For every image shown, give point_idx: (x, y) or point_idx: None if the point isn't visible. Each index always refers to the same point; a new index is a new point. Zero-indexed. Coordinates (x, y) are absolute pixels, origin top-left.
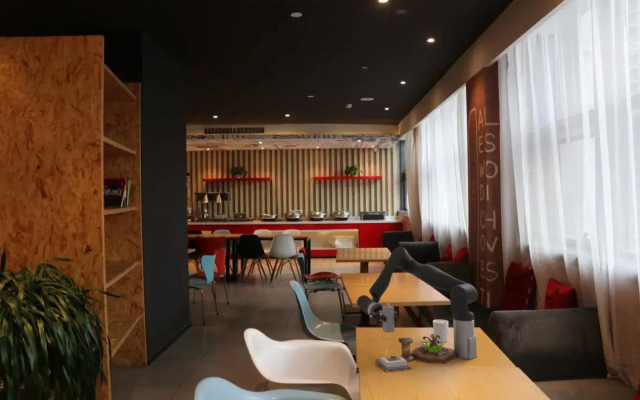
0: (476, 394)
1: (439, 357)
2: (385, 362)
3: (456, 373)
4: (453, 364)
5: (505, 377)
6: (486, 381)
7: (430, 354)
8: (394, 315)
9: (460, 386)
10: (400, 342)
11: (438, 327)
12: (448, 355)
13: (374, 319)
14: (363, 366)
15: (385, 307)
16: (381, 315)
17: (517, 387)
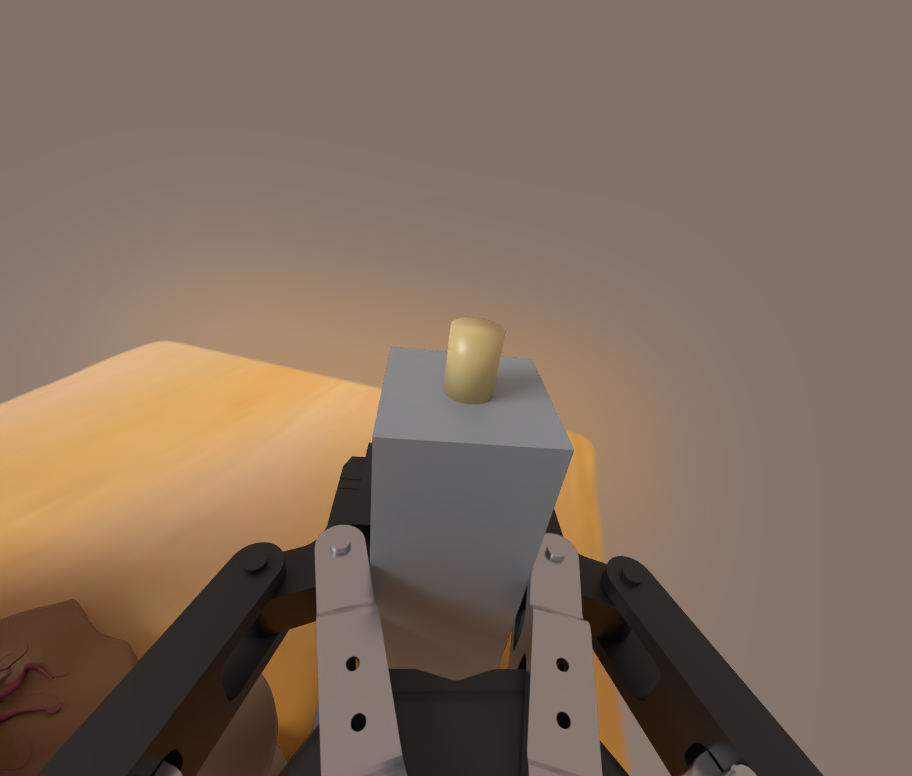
0: (299, 370)
1: (61, 622)
2: None
3: (190, 478)
4: (48, 579)
5: (75, 408)
6: (178, 406)
7: (38, 708)
8: (362, 476)
9: (293, 404)
10: (277, 724)
11: None
12: None
13: (654, 668)
14: (614, 720)
15: (526, 375)
16: (555, 537)
17: (151, 365)
